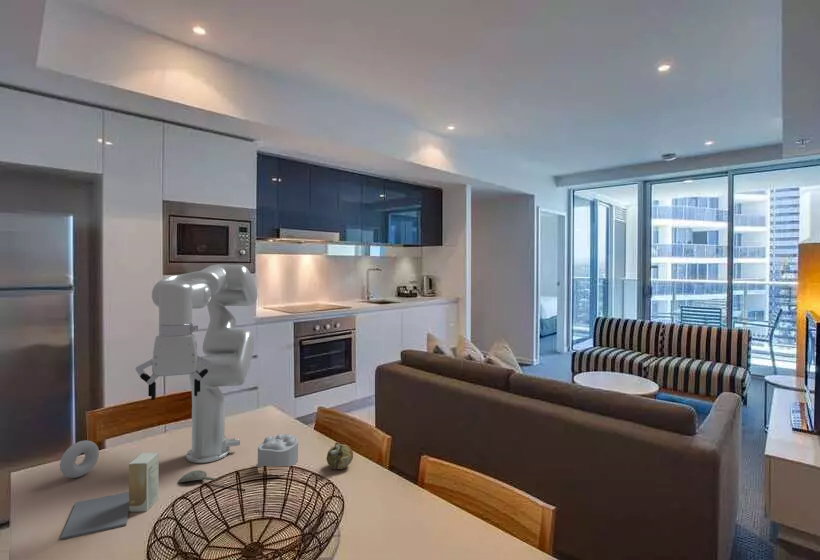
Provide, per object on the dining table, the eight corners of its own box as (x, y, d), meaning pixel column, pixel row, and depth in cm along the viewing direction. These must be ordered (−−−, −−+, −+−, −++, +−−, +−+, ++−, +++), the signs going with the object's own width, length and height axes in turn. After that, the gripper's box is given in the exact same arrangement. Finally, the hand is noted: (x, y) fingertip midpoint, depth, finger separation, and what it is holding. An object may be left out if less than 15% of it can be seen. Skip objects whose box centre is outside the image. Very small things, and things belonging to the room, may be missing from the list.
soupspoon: (191, 476, 126) (172, 487, 120) (190, 464, 126) (172, 476, 120) (255, 485, 120) (239, 498, 114) (254, 474, 120) (238, 486, 113)
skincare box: (141, 498, 111) (142, 452, 111) (159, 498, 112) (159, 451, 112) (127, 512, 105) (127, 463, 105) (146, 512, 105) (146, 463, 105)
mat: (132, 493, 114) (132, 491, 114) (126, 525, 100) (126, 523, 100) (76, 503, 108) (76, 502, 108) (60, 539, 94) (60, 537, 94)
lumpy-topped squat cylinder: (252, 473, 127) (253, 444, 126) (274, 454, 139) (275, 428, 139) (285, 477, 125) (285, 447, 124) (304, 458, 137) (305, 431, 137)
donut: (65, 485, 117) (65, 449, 117) (56, 483, 118) (56, 447, 118) (102, 469, 127) (102, 435, 126) (93, 467, 128) (93, 434, 128)
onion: (355, 470, 129) (355, 444, 129) (328, 474, 127) (329, 447, 126) (350, 460, 136) (350, 435, 136) (324, 463, 134) (325, 438, 134)
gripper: (212, 327, 118) (211, 389, 119) (138, 330, 111) (137, 396, 111) (212, 331, 111) (212, 397, 112) (133, 334, 104) (133, 404, 104)
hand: (175, 396), depth 112 cm, fingers open, 9 cm apart
